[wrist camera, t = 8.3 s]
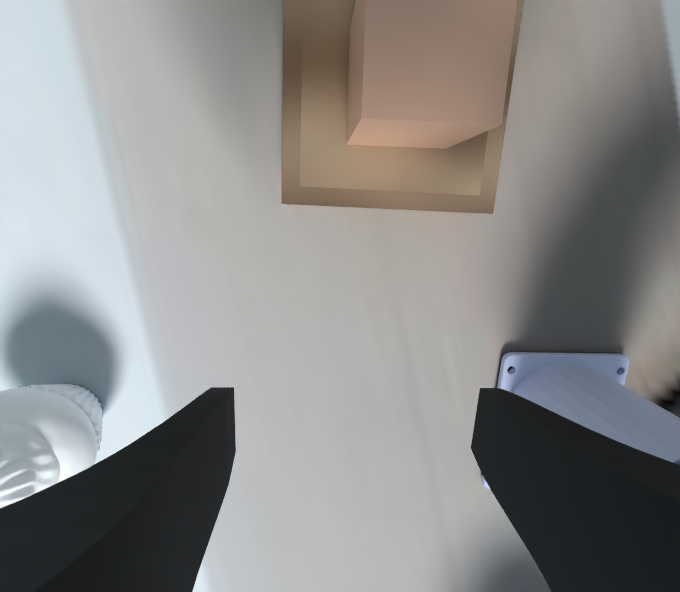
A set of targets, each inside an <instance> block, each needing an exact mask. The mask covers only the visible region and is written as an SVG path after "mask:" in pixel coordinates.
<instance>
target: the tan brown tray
mask: <svg viewBox="0 0 680 592" xmlns="http://www.w3.org/2000/svg"><path fill="white" fill-rule="evenodd" d="M355 1H356V0H283V92H282V204H298V205H319V206H340V207H362V208H383V209H404V210H425V211H446V212H467V213H489V214H493V210H494V203H495V196H496V189H497V182H498V175H499V168H500V161H501V154H502V147H503V140H504V133H505V126H506V119H507V113H508V106H509V99H510V92H511V85H512V78H513V71H514V64H515V57H516V50H517V43H518V36H519V29H520V22H521V15H522V8H523V1H524V0H517V7H516V15H515V23H514V31H513V39H512V47H511V55H510V63H509V71H508V79H507V87H506V95H505V103H504V111H503V119H502V125H500V126H498V127H495V128H493V129H491V130H488V131H486V132H484V133H481V134H479V135H477V136H474V137H472V138H470V139H467V140H465V141H462V142H460V143H458V144H455V145H453V146H451V147H448V148H446V149H440V148H416V147H392V146H369V145H346V142H347V109H348V76H349V42H350V25H351V20H352V16H353V11H354V6H355Z"/></svg>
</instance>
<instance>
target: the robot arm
mask: <svg viewBox="0 0 680 592" xmlns="http://www.w3.org/2000/svg"><path fill="white" fill-rule="evenodd" d="M629 363H630V360H629V358H628V357H627V356H625V355H623V354H606V353H535V352H509V353H507V354H505V355H504V356H503V358H502V362H501V368H500V374H499V380H498V386H497V388H480V393H479V399H478V405H477V412H476V418H475V425H474V431H473V438H472V444H471V449H472V452H473V454H474V456H475V459H476V461H477V463H478V466H479V468H480V470H481V472H482V474H483V476H482V483H483V484H484V486H485V487H486V488H487V489H491V491H492V492H493V494H494V495H495V497H496V499H497V500H498V502H499V504H500V505H501V507H502V509H503V510H504V512H505V513H506V515H507V517H508V518H509V520H510V521H511V523H512V525H513V526H514V528H515V529H516V531H517V533H518V534H519V536H520V538H521V539H522V541H523V542H524V544H525V546H526V547H527V549H528V550H529V552H530V554H531V555H532V557H533V559H534V560H535V562H536V564H537V566H538V567H539V569H540V571H541V573H542V574H543V576H544V578H545V580H546V582H547V584H548V586H549V588H550V590H551V592H680V418H679V417H677V416H675V415H673V414H672V413H670V412H668V411H666V410H665V409H663V408H661V407H660V406H658V405H656V404H654V403H653V402H651V401H649V400H647V399H646V398H644V397H642V396H640V395H639V394H637V393H635V392H634V391H632V390H630V389H628V388H627V387H625V386H624V383H625V379H626V375H627V371H628V367H629ZM510 366H512V369H511V370H510V371H507V369H508V368H509V367H510ZM618 368H619V370H618V371H617V369H618ZM235 452H236V447H235V411H234V388H210V389H209V390H207V391H206V392H204V393H203V394H201V395H200V396H199V397H197V398H196V399H195V400H193V401H192V402H191V403H189V404H188V405H187V406H185V407H184V408H183V409H181V410H180V411H178V412H177V413H176V414H174V415H173V416H171V417H170V418H169V419H167V420H166V421H165V422H163V423H162V424H160V425H159V426H157V427H156V428H154V429H153V430H151V431H150V432H148V433H146V434H145V435H143V436H142V437H140V438H139V439H137V440H136V441H134V442H133V443H131V444H130V445H128V446H126V447H125V448H123V449H121V450H120V451H118V452H116V453H115V454H113V455H111V456H109V457H107V458H106V459H104V460H102V461H100V462H98V463H96V464H95V465H93V466H91V467H89V468H87V469H85V470H83V471H81V472H79V473H77V474H75V475H73V476H71V477H69V478H67V479H65V480H63V481H60V482H58V483H56V484H54V485H52V486H50V487H48V488H46V489H43V490H41V491H39V492H37V493H35V494H33V495H31V496H29V497H26V498H24V499H22V500H19V501H17V502H15V503H12V504H10V505H7V506H5V507H2V508H0V592H192V590H193V587H194V584H195V581H196V577H197V574H198V571H199V568H200V565H201V562H202V559H203V557H204V554H205V551H206V548H207V545H208V542H209V539H210V537H211V534H212V531H213V528H214V525H215V522H216V519H217V517H218V514H219V511H220V508H221V505H222V502H223V499H224V496H225V493H226V490H227V487H228V484H229V480H230V475H231V471H232V466H233V461H234V456H235Z"/></svg>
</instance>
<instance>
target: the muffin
mask: <svg viewBox="0 0 680 592" xmlns="http://www.w3.org/2000/svg"><path fill="white" fill-rule="evenodd" d="M102 418H103V413H102V408H101V403H99V402H98V398H97V397H95V396H94V394H93V393H91V392H90V390H86V389H85V387H80V386H79V385H74V384H44V385H29V386H22V387H18V388H16V389H9V390H4V391H0V508H2V507H5V506H7V505H10V504H12V503H15V502H17V501H19V500H22V499H24V498H26V497H29V496H31V495H33V494H35V493H37V492H39V491H41V490H43V489H46V488H48V487H50V486H52V485H54V484H56V483H58V482H60V481H63V480H65V479H67V478H69V477H71V476H73V475H75V474H77V473H79V472H81V471H83V470H85V469H87V468H89V467H91V466H93V465H94V462H95V459H96V454H97V452H98V451H99V450H100V443H101V437H102Z"/></svg>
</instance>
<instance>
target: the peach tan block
mask: <svg viewBox="0 0 680 592" xmlns="http://www.w3.org/2000/svg"><path fill="white" fill-rule="evenodd" d="M516 7H517V0H356V1H355V6H354V11H353V16H352V20H351V25H350V42H349V76H348V109H347V142H346V145H369V146H392V147H416V148H440V149H446V148H448V147H451V146H453V145H455V144H458V143H460V142H462V141H465V140H467V139H470V138H472V137H474V136H477V135H479V134H481V133H484V132H486V131H488V130H491V129H493V128H495V127H498V126H500V125H502V119H503V111H504V103H505V95H506V87H507V79H508V71H509V63H510V55H511V47H512V39H513V31H514V23H515V15H516Z"/></svg>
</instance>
